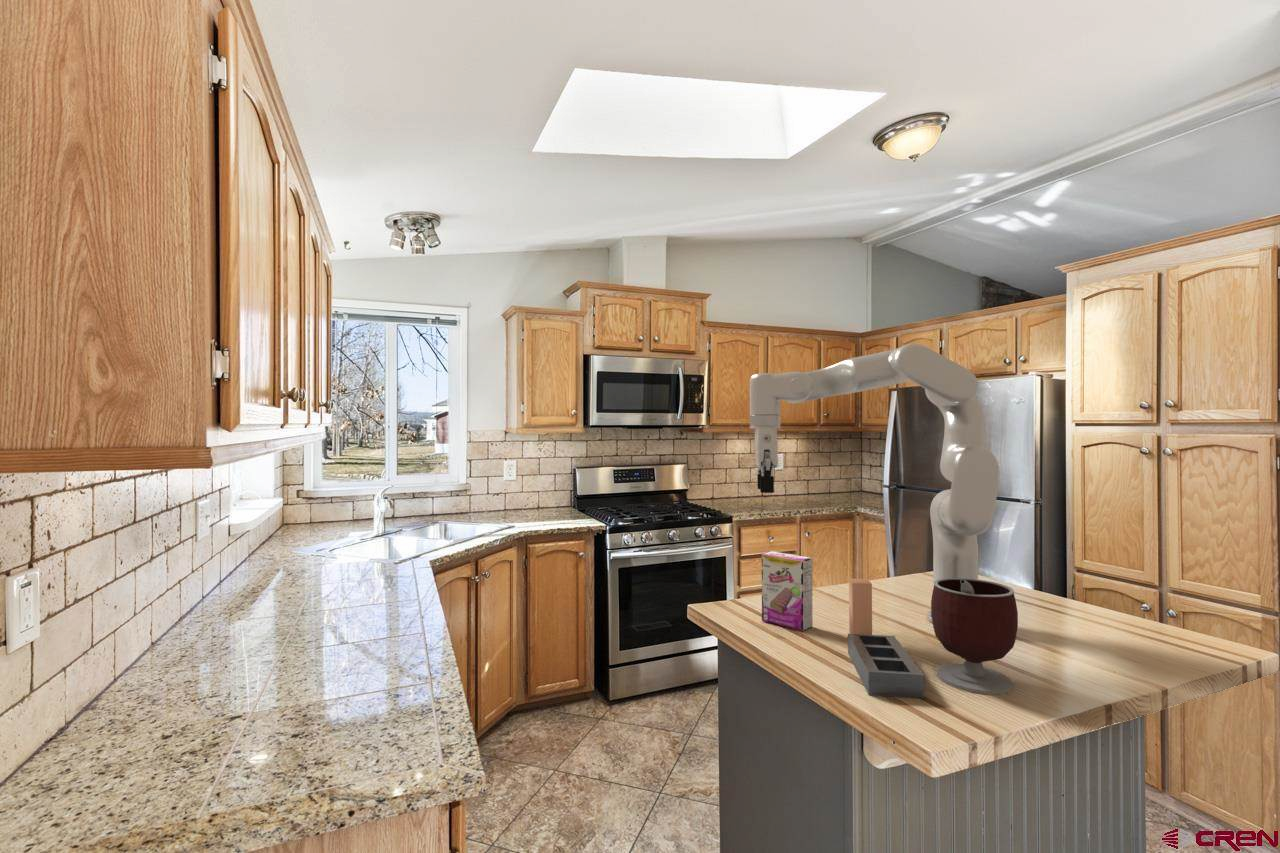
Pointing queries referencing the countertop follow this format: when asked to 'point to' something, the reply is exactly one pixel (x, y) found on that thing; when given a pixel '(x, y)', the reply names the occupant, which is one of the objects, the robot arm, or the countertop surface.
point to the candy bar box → (787, 590)
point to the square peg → (860, 606)
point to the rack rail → (885, 666)
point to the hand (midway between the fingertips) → (765, 490)
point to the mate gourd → (974, 631)
